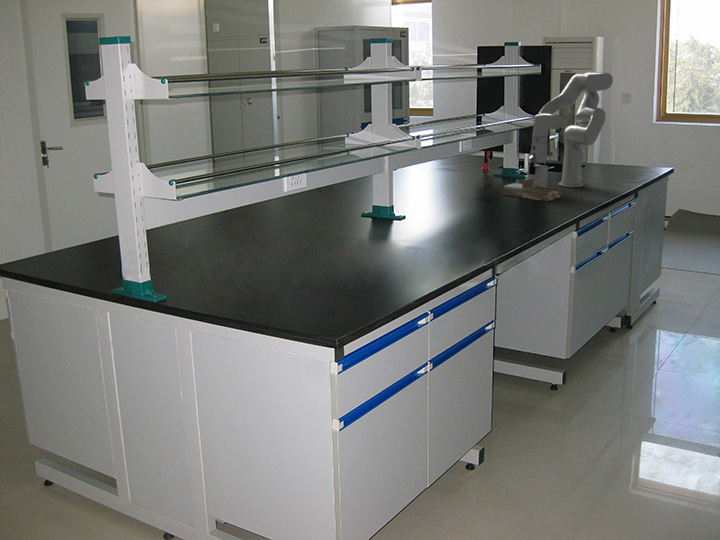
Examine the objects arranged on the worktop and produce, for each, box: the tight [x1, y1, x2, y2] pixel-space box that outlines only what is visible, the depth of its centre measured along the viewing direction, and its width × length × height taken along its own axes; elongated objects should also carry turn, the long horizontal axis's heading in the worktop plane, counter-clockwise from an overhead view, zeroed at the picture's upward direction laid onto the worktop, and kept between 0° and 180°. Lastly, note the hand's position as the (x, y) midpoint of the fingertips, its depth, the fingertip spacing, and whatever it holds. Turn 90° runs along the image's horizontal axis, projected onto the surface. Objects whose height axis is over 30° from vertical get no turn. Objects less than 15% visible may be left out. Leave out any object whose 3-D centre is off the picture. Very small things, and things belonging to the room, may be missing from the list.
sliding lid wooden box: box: [502, 183, 562, 202], centre depth 372 cm, size 14×24×4 cm, turn 49°
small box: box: [526, 163, 549, 188], centre depth 384 cm, size 8×6×13 cm
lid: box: [503, 178, 535, 190], centre depth 376 cm, size 10×12×5 cm
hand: (536, 173), depth 383 cm, fingers open, 9 cm apart
